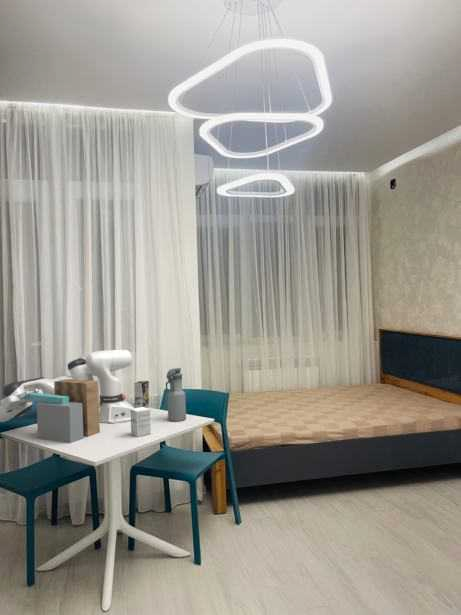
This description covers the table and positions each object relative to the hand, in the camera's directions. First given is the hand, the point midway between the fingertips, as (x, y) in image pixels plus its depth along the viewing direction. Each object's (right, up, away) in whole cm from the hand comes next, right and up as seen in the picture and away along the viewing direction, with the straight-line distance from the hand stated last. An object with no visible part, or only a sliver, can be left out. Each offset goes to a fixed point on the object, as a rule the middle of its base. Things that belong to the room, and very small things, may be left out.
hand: (32, 391), depth 230 cm
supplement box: (+56, -20, -6) cm, 60 cm away
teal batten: (+7, -4, -3) cm, 9 cm away
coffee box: (+44, -21, +56) cm, 75 cm away
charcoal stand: (+17, -21, -8) cm, 29 cm away
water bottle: (+70, -20, +21) cm, 76 cm away
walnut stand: (+22, -21, +1) cm, 31 cm away
